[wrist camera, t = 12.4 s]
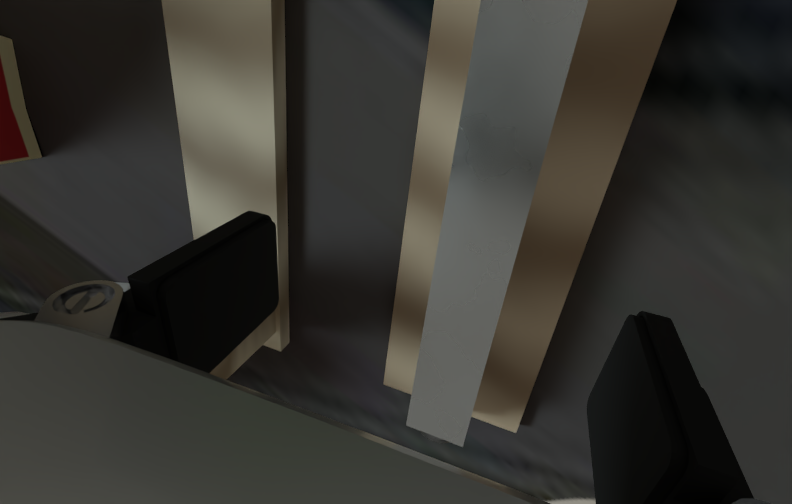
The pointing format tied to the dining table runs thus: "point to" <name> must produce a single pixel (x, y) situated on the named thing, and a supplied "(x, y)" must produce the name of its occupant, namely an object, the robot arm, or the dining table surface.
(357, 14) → the dining table surface
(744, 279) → the dining table surface
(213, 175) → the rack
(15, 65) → the milk carton
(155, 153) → the dining table surface
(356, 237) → the dining table surface
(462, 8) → the wooden board
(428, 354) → the rail
